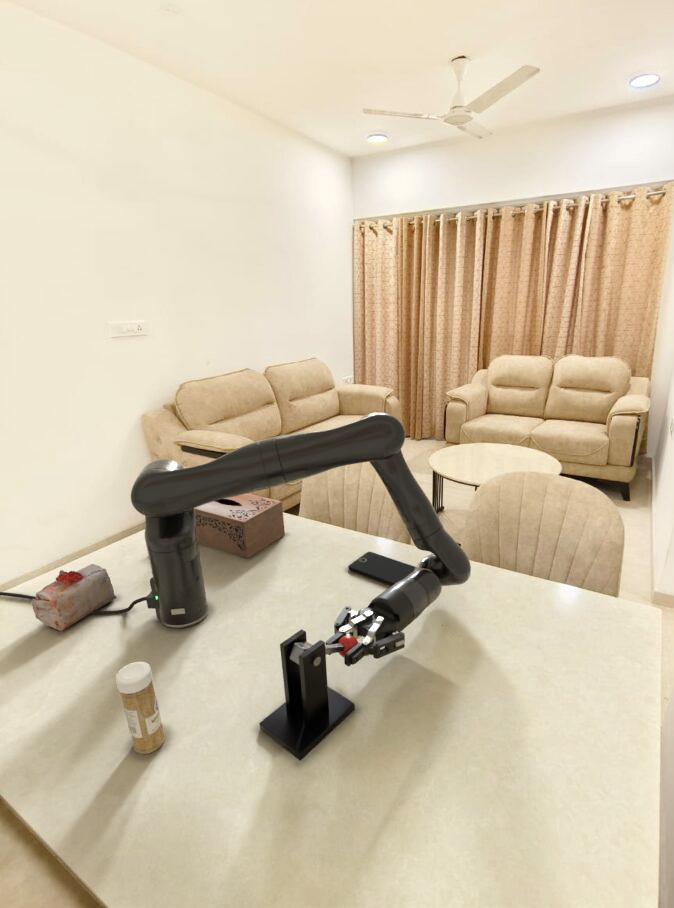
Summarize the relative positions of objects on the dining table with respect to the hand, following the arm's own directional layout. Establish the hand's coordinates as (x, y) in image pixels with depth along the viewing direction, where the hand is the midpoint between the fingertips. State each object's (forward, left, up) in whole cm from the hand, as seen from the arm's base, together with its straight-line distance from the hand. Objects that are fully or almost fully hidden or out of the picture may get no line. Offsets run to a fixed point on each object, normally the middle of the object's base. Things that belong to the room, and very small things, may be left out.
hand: (336, 655), depth 81 cm
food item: (-60, +5, -8) cm, 61 cm away
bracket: (-2, -6, -8) cm, 11 cm away
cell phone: (-2, +39, -8) cm, 39 cm away
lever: (-1, -3, +1) cm, 3 cm away
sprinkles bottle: (-23, -17, -8) cm, 30 cm away
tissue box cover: (-49, +45, -8) cm, 67 cm away
